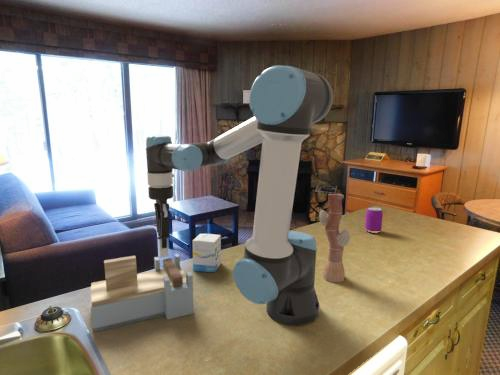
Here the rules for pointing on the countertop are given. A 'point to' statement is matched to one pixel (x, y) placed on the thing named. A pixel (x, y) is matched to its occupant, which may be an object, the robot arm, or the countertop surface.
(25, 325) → the countertop surface
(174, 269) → the cross bar
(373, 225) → the beverage can
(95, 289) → the lid
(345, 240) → the vase
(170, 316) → the grey box with brackets
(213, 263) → the ink box
